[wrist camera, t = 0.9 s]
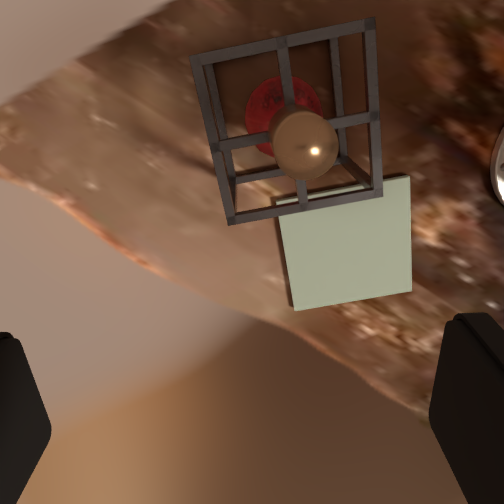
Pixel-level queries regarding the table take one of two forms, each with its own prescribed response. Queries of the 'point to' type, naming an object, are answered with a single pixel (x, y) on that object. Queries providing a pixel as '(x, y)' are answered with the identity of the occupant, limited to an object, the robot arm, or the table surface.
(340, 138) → the dark grey metal frame
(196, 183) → the table surface
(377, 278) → the mat
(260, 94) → the onion
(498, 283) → the table surface
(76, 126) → the table surface
